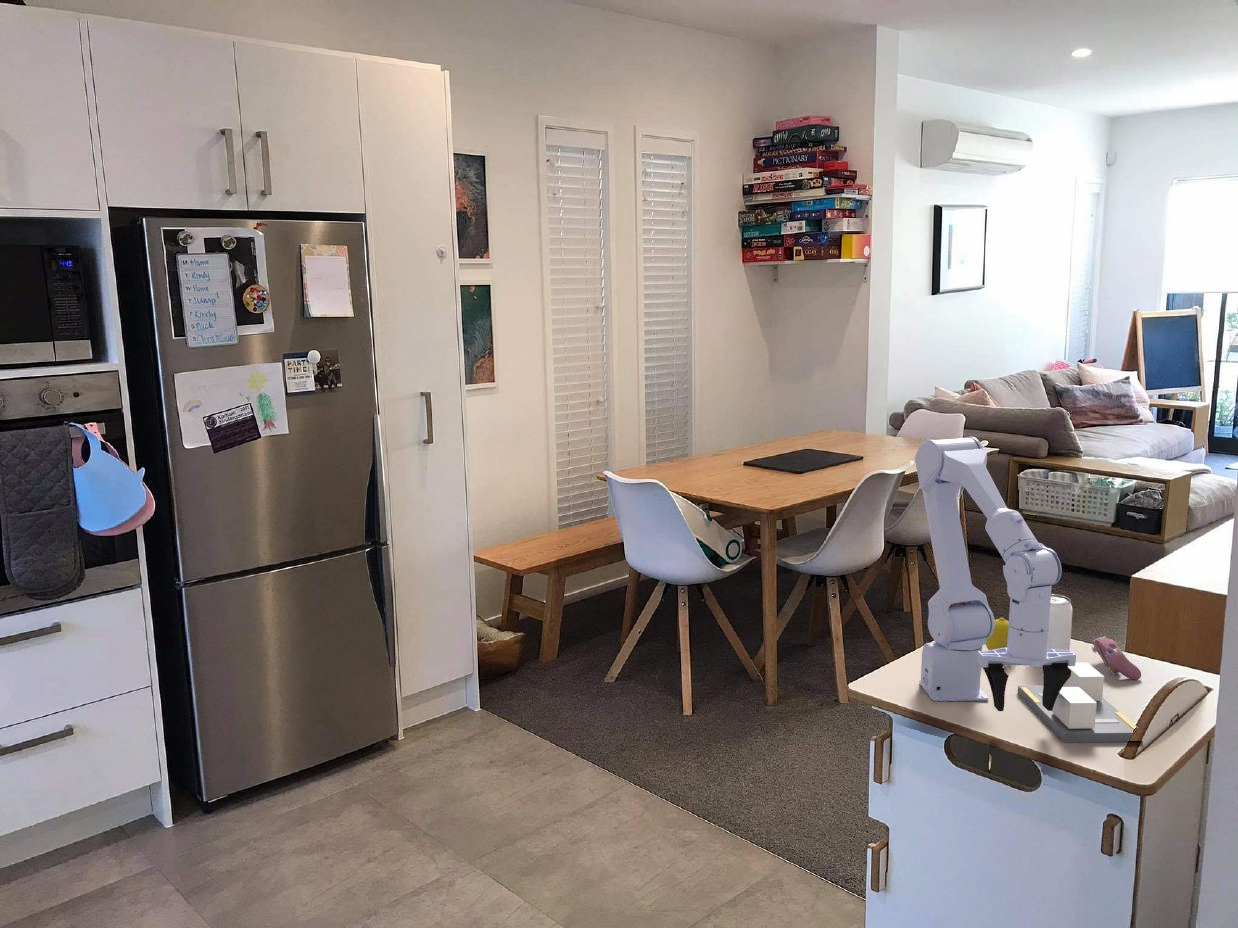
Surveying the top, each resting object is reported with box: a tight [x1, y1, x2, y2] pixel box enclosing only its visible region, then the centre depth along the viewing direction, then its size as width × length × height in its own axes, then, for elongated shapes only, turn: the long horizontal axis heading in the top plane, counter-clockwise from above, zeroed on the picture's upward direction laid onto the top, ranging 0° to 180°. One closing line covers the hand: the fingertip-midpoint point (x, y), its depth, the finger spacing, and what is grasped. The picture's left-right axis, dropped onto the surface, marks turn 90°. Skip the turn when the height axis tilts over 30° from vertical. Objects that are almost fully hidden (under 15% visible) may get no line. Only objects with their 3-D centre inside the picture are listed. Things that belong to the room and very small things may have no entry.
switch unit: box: [1017, 684, 1137, 743], centre depth 159 cm, size 12×18×2 cm, turn 0°
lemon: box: [985, 617, 1009, 651], centre depth 183 cm, size 6×6×8 cm
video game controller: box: [1091, 635, 1142, 681], centre depth 177 cm, size 10×5×7 cm, turn 174°
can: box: [1047, 593, 1073, 650], centre depth 181 cm, size 6×6×12 cm
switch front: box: [1052, 687, 1097, 729], centre depth 153 cm, size 4×6×4 cm, turn 0°
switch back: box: [1063, 662, 1105, 701], centre depth 163 cm, size 4×6×4 cm, turn 0°
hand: (1023, 708), depth 153 cm, fingers open, 7 cm apart
